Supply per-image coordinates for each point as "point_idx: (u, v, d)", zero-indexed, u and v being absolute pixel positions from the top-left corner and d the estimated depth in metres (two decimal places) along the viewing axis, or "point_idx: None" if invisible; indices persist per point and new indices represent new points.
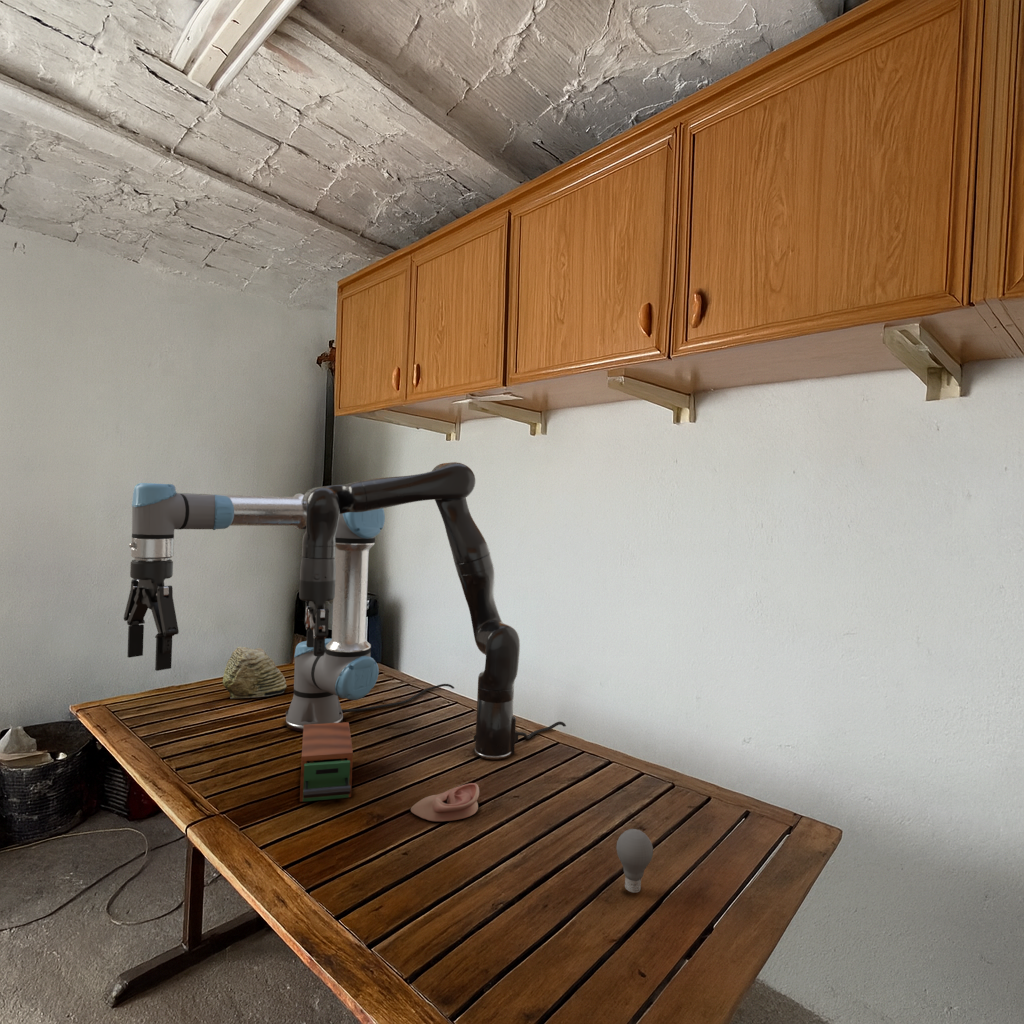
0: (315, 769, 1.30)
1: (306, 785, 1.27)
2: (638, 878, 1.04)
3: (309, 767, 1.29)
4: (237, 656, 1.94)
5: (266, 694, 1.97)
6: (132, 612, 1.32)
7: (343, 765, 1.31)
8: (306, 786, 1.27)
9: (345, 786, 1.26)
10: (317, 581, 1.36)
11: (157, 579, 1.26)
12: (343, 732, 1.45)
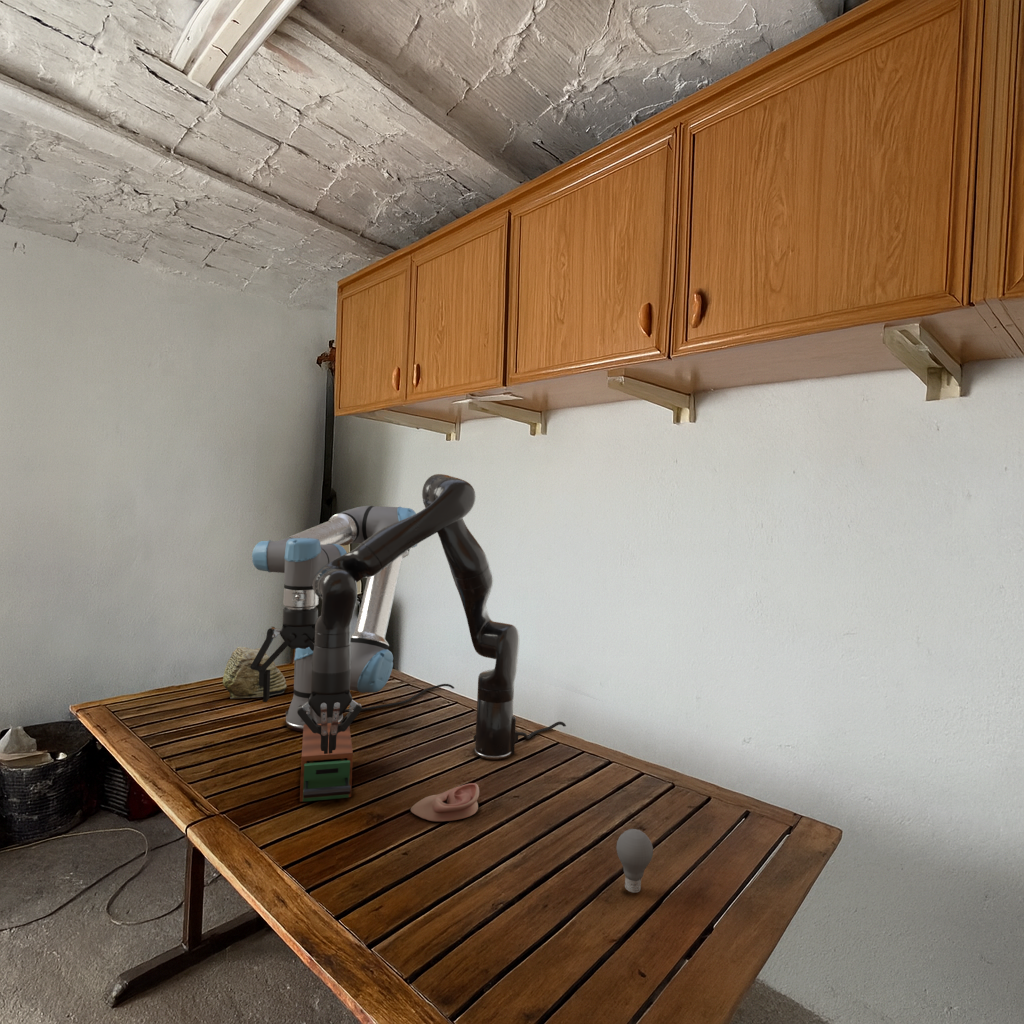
0: (315, 769, 1.30)
1: (306, 785, 1.27)
2: (638, 878, 1.04)
3: (309, 767, 1.29)
4: (237, 656, 1.94)
5: None
6: (271, 659, 1.41)
7: (343, 765, 1.31)
8: (306, 786, 1.27)
9: (345, 786, 1.26)
10: None
11: None
12: (343, 732, 1.45)
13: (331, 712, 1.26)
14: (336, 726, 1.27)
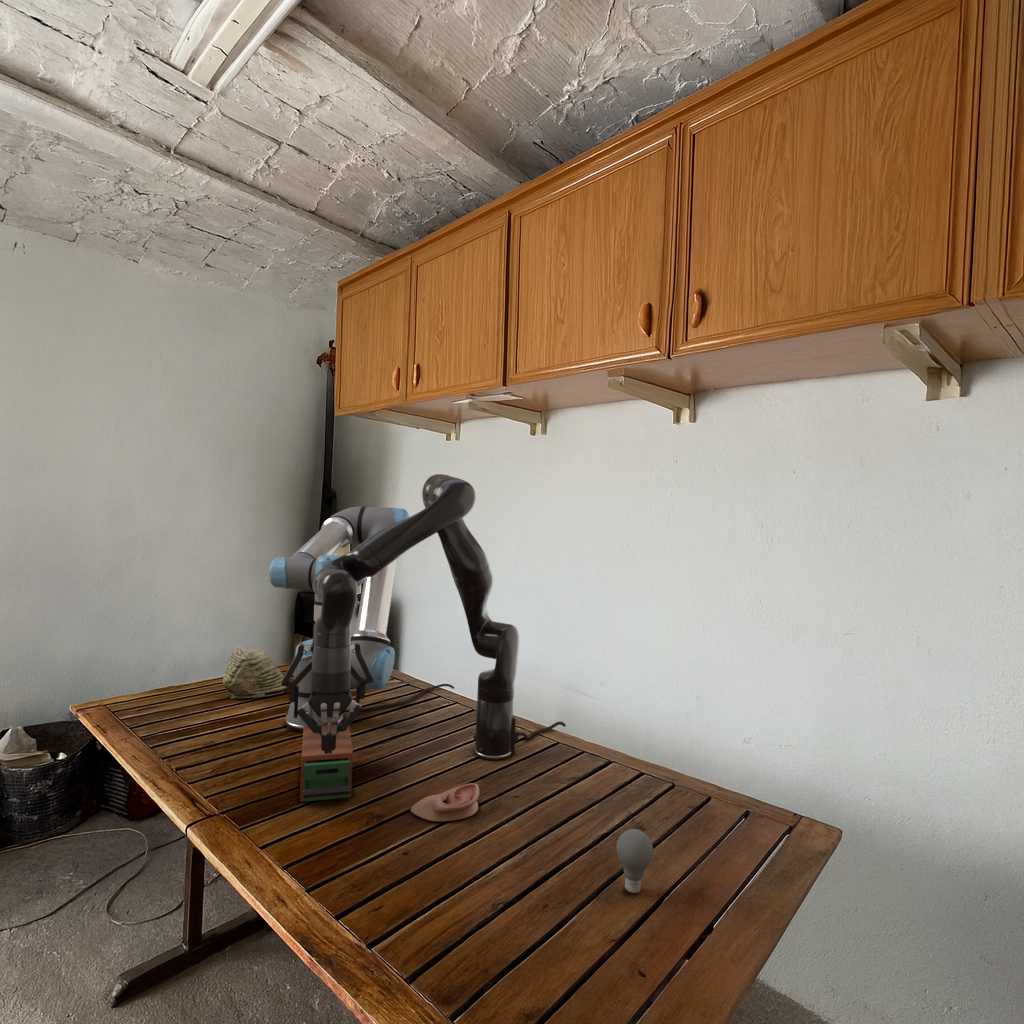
0: (315, 769, 1.30)
1: (306, 785, 1.27)
2: (638, 878, 1.04)
3: (309, 767, 1.29)
4: (237, 656, 1.94)
5: (266, 694, 1.97)
6: (302, 675, 1.43)
7: (343, 765, 1.31)
8: (306, 786, 1.27)
9: (345, 786, 1.26)
10: None
11: None
12: (343, 732, 1.45)
13: (331, 712, 1.26)
14: (336, 726, 1.27)
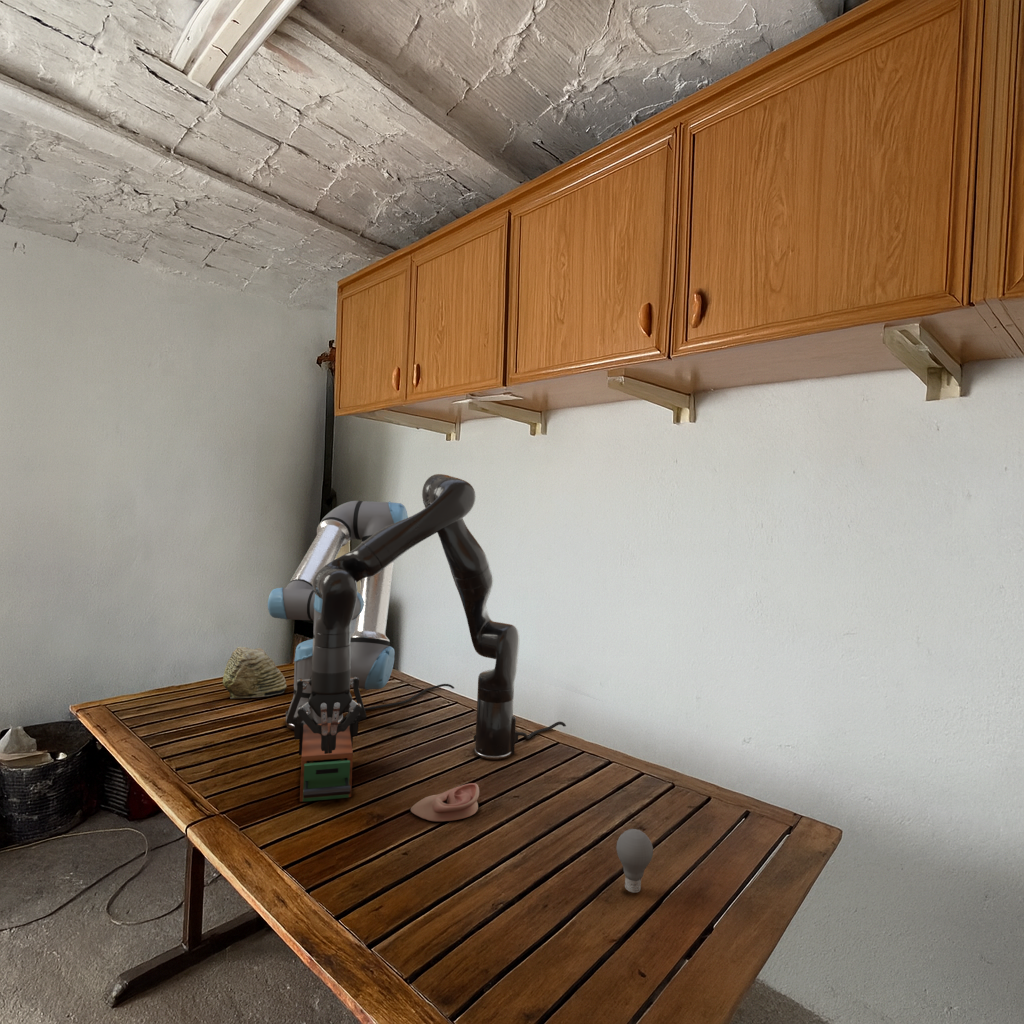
0: (315, 769, 1.30)
1: (306, 785, 1.27)
2: (638, 878, 1.04)
3: (309, 767, 1.29)
4: (237, 656, 1.94)
5: (266, 694, 1.97)
6: None
7: (343, 765, 1.31)
8: (306, 786, 1.27)
9: (345, 786, 1.26)
10: None
11: None
12: (343, 732, 1.45)
13: (331, 712, 1.26)
14: (336, 726, 1.27)
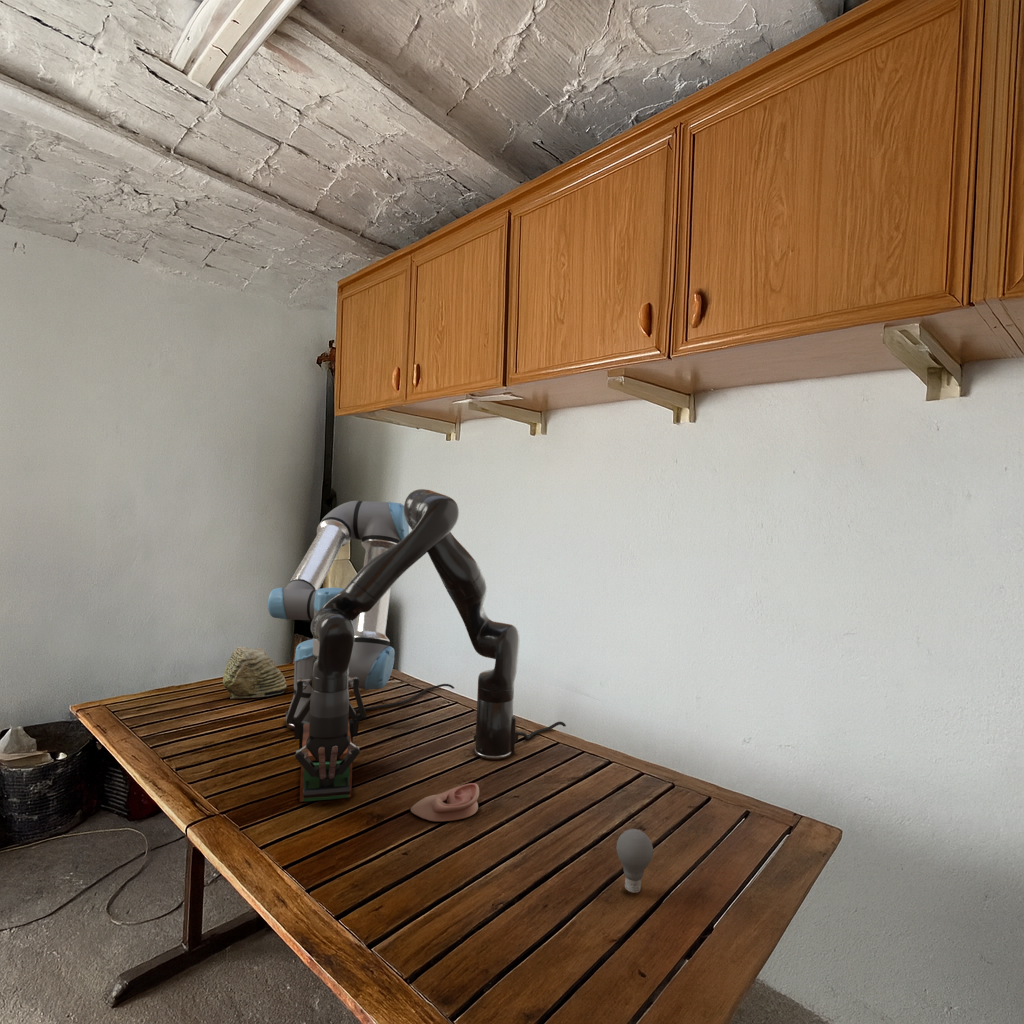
0: None
1: (306, 785, 1.27)
2: (638, 878, 1.04)
3: None
4: (237, 656, 1.94)
5: (266, 694, 1.97)
6: (305, 711, 1.44)
7: None
8: (306, 786, 1.27)
9: (345, 786, 1.26)
10: None
11: None
12: None
13: (329, 755, 1.26)
14: (334, 769, 1.26)
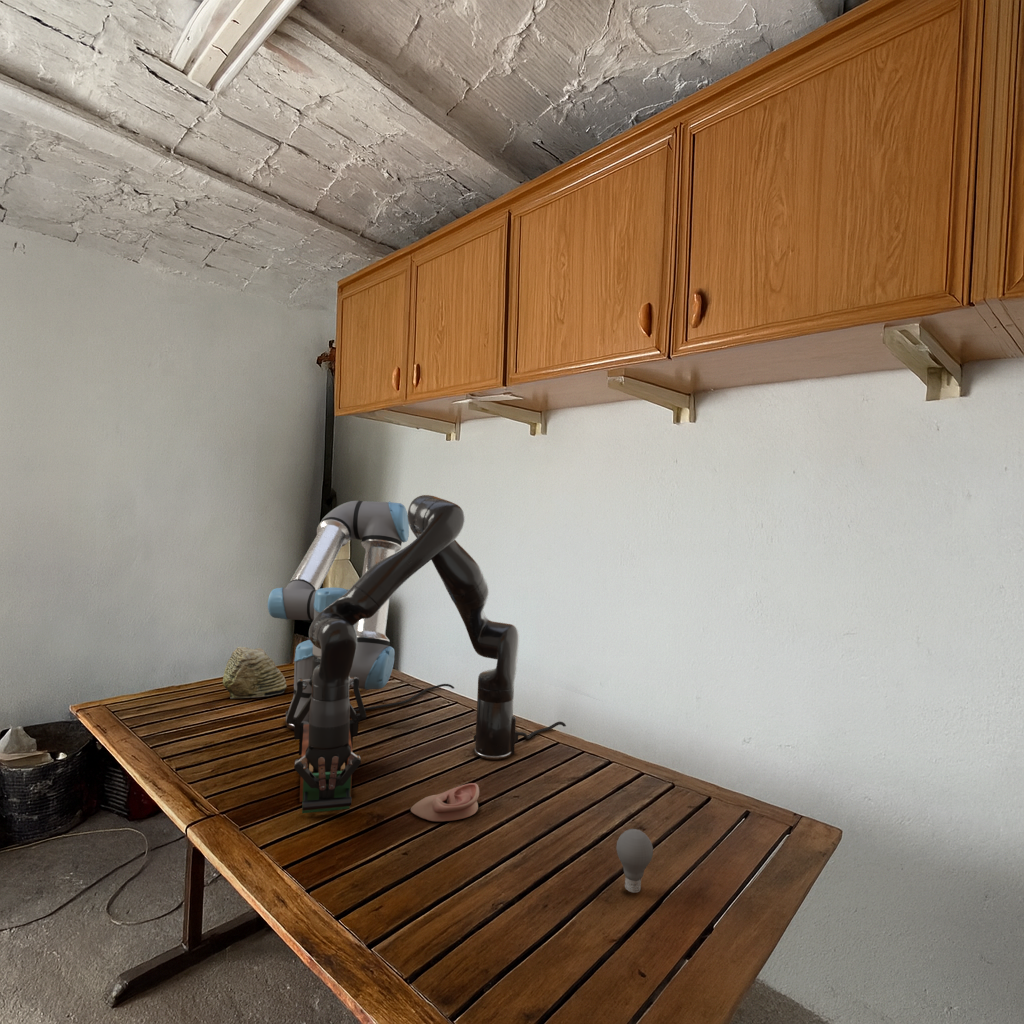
0: None
1: (305, 796, 1.23)
2: (638, 878, 1.04)
3: None
4: (237, 656, 1.94)
5: (266, 694, 1.97)
6: (305, 711, 1.44)
7: None
8: (305, 798, 1.22)
9: (346, 798, 1.22)
10: None
11: None
12: None
13: (329, 766, 1.21)
14: (334, 780, 1.22)
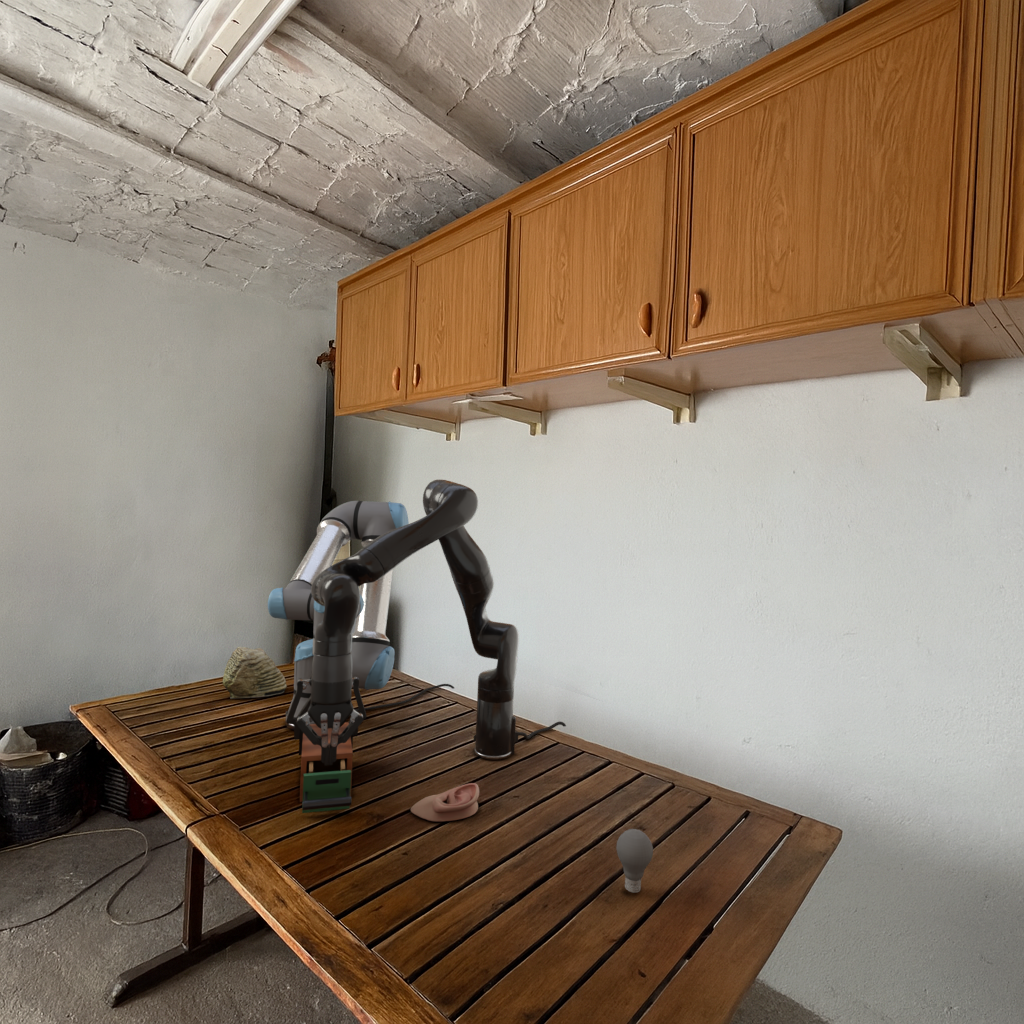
0: (315, 780, 1.25)
1: (305, 796, 1.23)
2: (638, 878, 1.04)
3: (308, 777, 1.25)
4: (237, 656, 1.94)
5: (266, 694, 1.97)
6: (305, 711, 1.44)
7: (344, 776, 1.27)
8: (305, 798, 1.22)
9: (346, 797, 1.22)
10: None
11: None
12: None
13: (332, 723, 1.21)
14: (336, 737, 1.22)
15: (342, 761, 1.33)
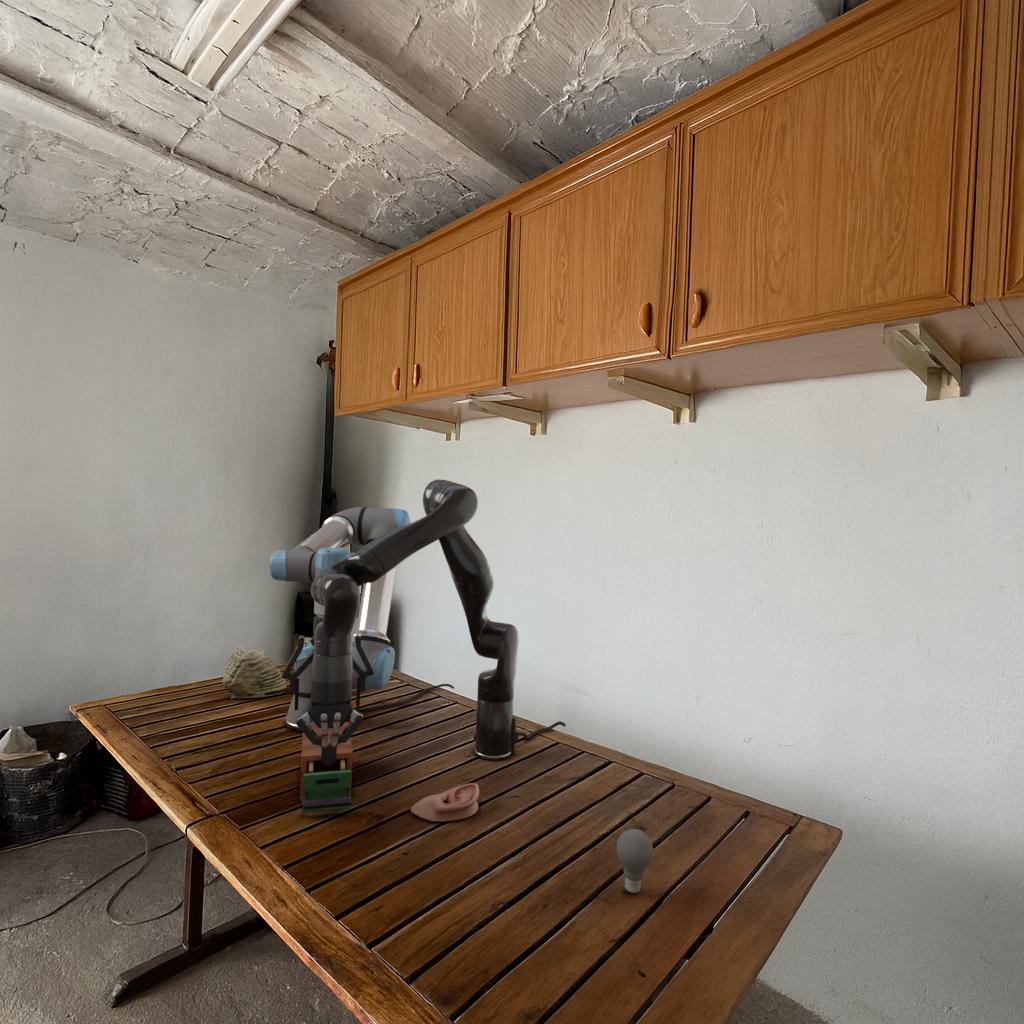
0: (315, 779, 1.25)
1: (305, 796, 1.23)
2: (638, 878, 1.04)
3: (308, 777, 1.25)
4: (237, 656, 1.94)
5: (266, 694, 1.97)
6: (302, 667, 1.43)
7: (344, 775, 1.27)
8: (305, 797, 1.22)
9: (346, 797, 1.22)
10: None
11: None
12: None
13: (332, 723, 1.21)
14: (336, 737, 1.22)
15: (342, 761, 1.33)
